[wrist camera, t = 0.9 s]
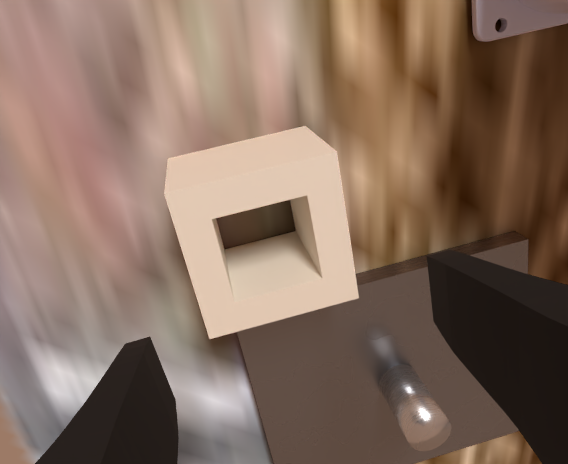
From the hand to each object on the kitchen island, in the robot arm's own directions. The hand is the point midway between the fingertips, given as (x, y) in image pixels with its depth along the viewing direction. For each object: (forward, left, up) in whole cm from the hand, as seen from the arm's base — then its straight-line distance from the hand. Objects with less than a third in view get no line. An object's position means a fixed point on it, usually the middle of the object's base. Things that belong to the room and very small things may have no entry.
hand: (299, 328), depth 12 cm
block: (0, 0, -9) cm, 9 cm away
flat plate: (-5, +10, -9) cm, 15 cm away
